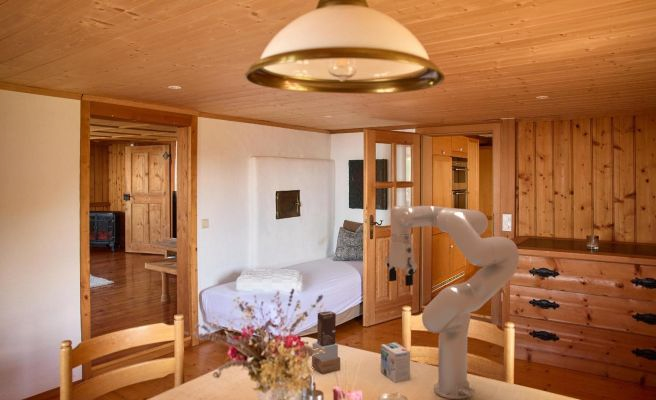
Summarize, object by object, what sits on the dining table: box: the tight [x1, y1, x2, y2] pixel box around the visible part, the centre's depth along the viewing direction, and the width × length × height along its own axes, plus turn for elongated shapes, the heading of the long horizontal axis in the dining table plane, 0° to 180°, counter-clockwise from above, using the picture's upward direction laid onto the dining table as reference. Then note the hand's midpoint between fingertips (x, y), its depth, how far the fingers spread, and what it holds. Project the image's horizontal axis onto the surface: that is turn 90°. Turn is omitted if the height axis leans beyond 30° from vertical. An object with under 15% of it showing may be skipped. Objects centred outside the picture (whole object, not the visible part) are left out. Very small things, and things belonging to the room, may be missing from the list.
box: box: [316, 310, 337, 346], centre depth 187 cm, size 6×4×12 cm
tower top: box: [312, 341, 339, 361], centre depth 188 cm, size 7×7×5 cm
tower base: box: [311, 355, 341, 376], centre depth 188 cm, size 8×8×5 cm
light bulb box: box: [380, 341, 411, 383], centre depth 181 cm, size 11×7×11 cm, turn 23°
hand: (400, 283), depth 186 cm, fingers open, 9 cm apart
